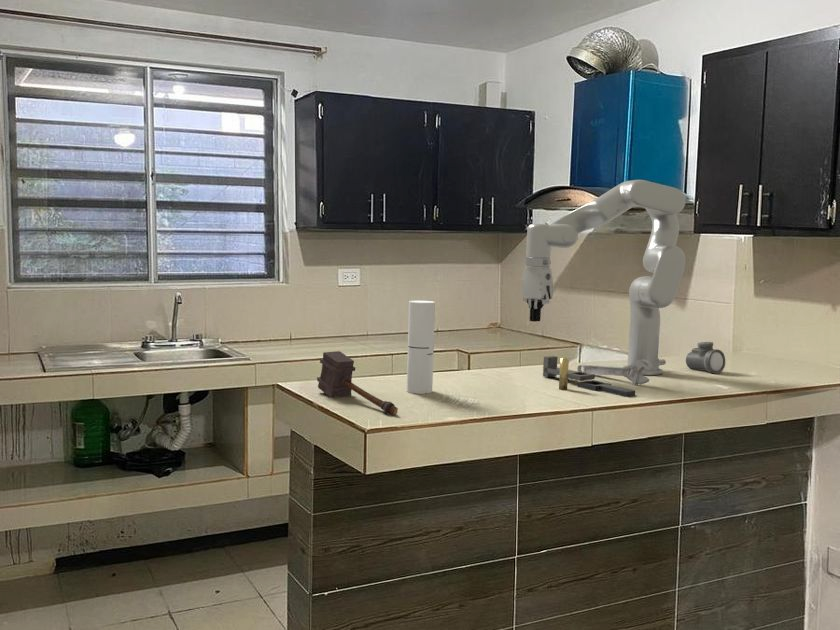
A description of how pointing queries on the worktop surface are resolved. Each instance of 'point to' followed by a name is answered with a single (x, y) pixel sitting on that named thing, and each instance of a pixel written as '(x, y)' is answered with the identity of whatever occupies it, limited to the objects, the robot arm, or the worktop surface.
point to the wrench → (621, 371)
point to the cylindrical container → (420, 346)
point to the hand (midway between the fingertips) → (534, 321)
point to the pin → (563, 373)
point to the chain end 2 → (606, 388)
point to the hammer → (345, 380)
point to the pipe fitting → (706, 358)
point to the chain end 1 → (552, 370)
